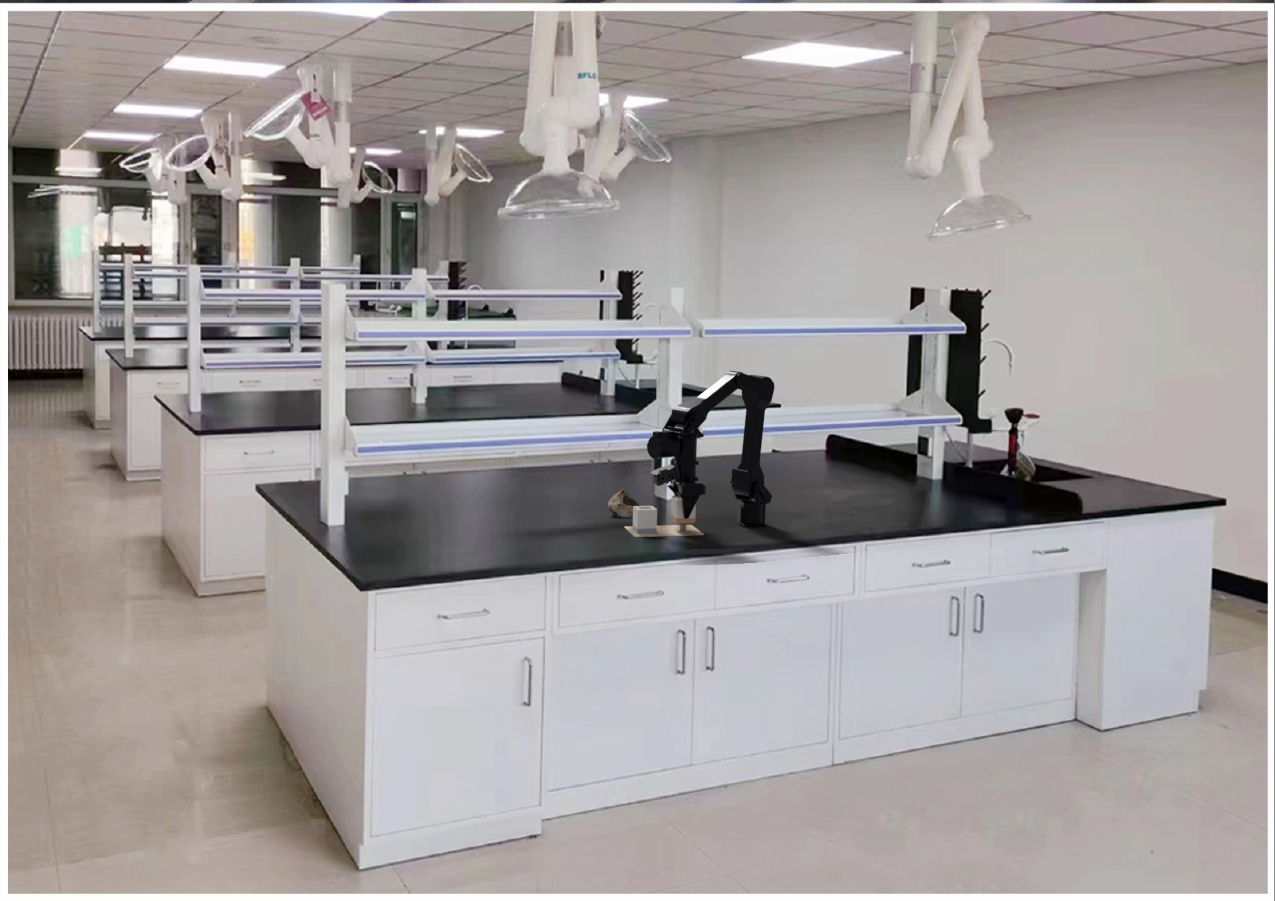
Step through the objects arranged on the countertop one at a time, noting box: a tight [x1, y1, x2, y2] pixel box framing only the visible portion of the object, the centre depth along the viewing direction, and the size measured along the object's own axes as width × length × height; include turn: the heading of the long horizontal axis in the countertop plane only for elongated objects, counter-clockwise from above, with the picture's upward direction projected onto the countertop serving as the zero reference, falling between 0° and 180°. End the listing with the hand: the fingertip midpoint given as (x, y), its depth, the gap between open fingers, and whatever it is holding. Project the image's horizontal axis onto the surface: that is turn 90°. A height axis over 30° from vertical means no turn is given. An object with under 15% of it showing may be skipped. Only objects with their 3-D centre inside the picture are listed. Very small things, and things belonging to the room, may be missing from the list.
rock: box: [607, 488, 641, 519], centre depth 342 cm, size 9×7×10 cm
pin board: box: [624, 523, 705, 538], centre depth 323 cm, size 18×12×4 cm, turn 104°
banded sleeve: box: [670, 495, 697, 524], centre depth 323 cm, size 5×5×6 cm
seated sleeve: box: [632, 505, 658, 534], centre depth 321 cm, size 5×5×6 cm
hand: (683, 516), depth 324 cm, fingers closed on banded sleeve, 5 cm apart
